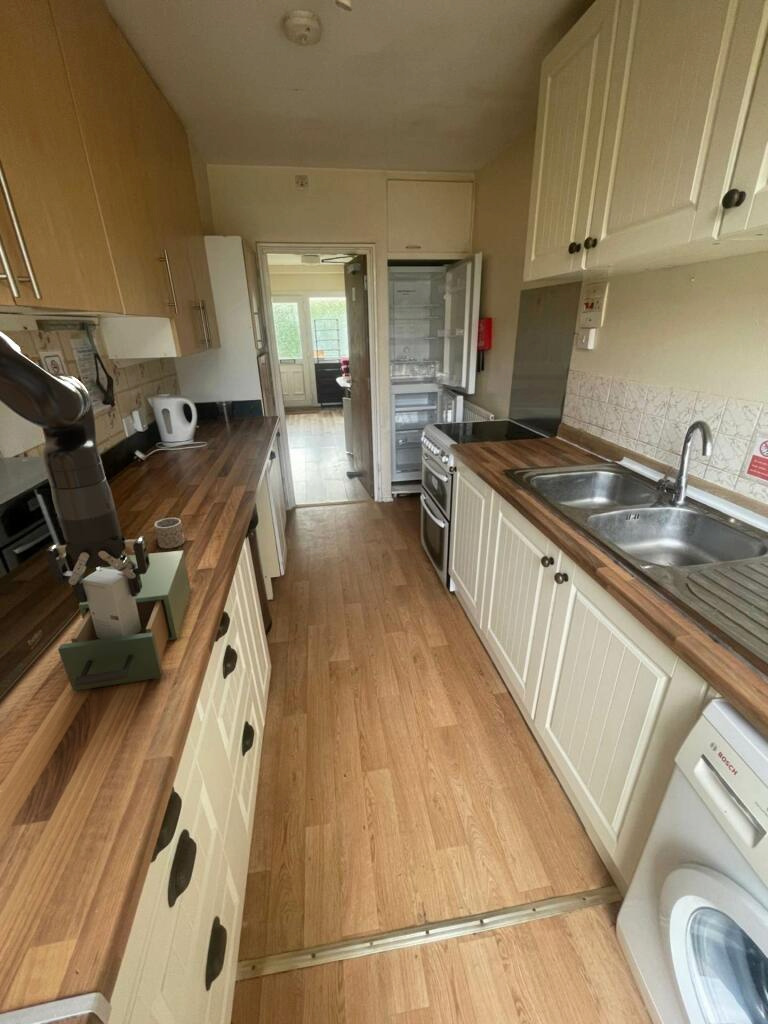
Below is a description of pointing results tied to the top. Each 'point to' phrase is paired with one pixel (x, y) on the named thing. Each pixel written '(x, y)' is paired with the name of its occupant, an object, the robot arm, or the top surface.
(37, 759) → the top surface
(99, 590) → the cosmetic box
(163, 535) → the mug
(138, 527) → the top surface
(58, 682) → the top surface
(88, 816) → the top surface
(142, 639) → the drawer
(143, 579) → the cabinet
